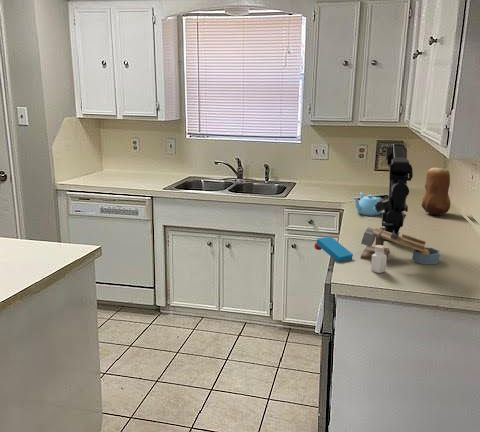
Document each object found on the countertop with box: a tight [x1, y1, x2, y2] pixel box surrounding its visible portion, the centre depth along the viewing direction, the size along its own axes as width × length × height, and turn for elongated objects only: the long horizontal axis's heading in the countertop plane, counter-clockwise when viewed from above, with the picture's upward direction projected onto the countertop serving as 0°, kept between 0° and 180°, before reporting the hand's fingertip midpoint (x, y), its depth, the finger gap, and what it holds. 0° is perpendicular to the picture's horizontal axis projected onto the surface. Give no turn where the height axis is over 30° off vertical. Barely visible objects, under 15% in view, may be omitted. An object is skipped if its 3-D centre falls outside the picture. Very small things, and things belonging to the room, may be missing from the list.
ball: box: [419, 248, 429, 254], centre depth 186 cm, size 4×4×4 cm
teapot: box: [353, 191, 384, 217], centre depth 259 cm, size 15×15×10 cm
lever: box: [314, 235, 354, 263], centre depth 195 cm, size 7×7×18 cm
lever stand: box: [360, 226, 390, 261], centre depth 193 cm, size 14×9×10 cm, turn 156°
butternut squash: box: [421, 167, 451, 216], centre depth 253 cm, size 14×13×25 cm
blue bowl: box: [411, 246, 441, 265], centre depth 186 cm, size 10×10×4 cm
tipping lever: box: [360, 226, 426, 252], centre depth 190 cm, size 9×22×7 cm, turn 66°
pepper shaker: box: [370, 245, 388, 274], centre depth 174 cm, size 4×4×10 cm
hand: (396, 233), depth 189 cm, fingers closed, pressing on tipping lever
